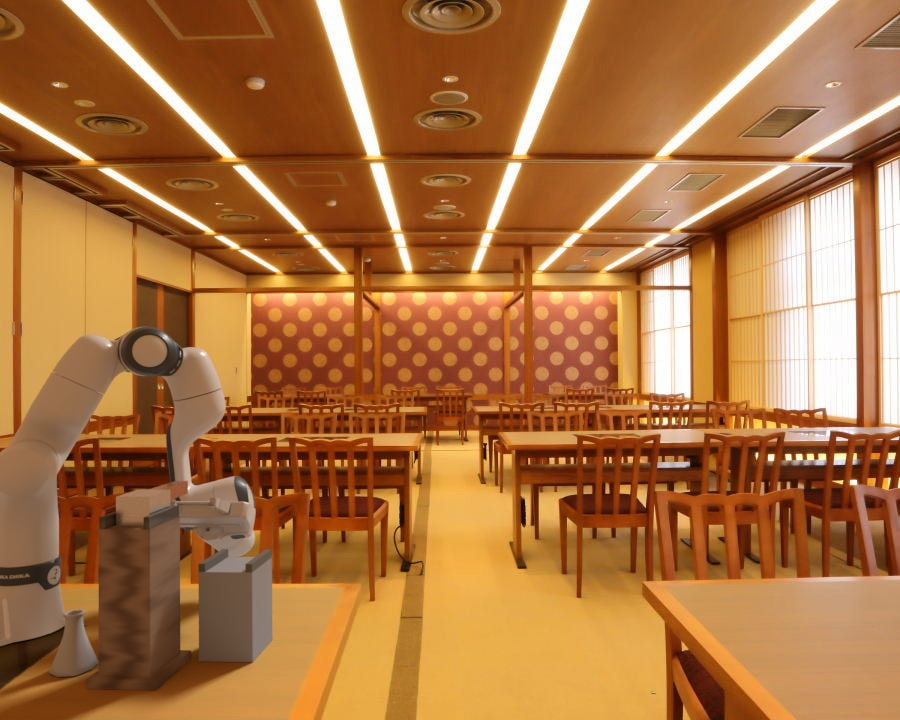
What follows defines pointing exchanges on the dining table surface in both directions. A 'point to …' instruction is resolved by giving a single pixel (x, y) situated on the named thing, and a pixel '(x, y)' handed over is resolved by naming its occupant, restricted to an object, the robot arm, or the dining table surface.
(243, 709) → the dining table surface
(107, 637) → the tall post
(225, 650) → the grey post
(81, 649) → the flask
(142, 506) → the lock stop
